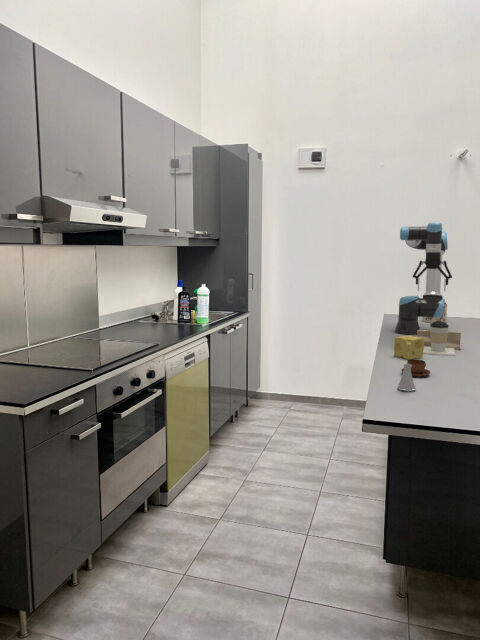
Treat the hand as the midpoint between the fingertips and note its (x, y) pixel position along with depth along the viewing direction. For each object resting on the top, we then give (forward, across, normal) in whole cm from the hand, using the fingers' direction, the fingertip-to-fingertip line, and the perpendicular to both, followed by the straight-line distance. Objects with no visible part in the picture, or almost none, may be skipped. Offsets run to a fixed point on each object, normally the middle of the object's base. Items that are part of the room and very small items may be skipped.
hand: (431, 290), depth 288 cm
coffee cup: (+29, +5, -17) cm, 34 cm away
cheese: (+30, -10, -35) cm, 47 cm away
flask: (+28, -8, -97) cm, 101 cm away
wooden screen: (+30, +5, -6) cm, 31 cm away
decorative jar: (+33, +4, +88) cm, 95 cm away
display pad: (+30, +5, -17) cm, 35 cm away
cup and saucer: (+29, -5, -71) cm, 77 cm away
